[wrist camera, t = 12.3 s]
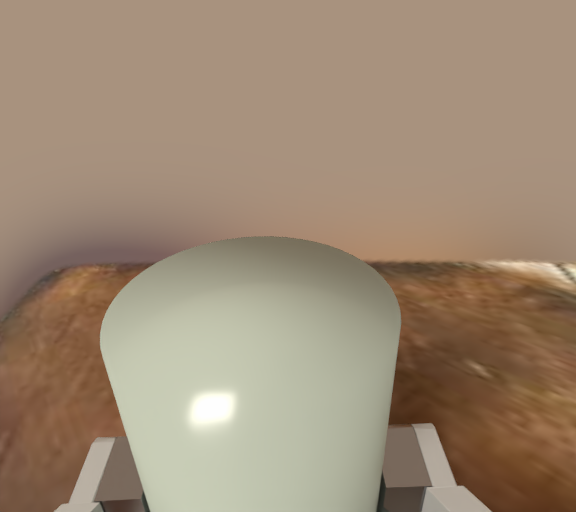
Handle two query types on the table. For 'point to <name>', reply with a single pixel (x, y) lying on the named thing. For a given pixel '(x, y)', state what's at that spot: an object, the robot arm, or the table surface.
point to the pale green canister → (255, 377)
